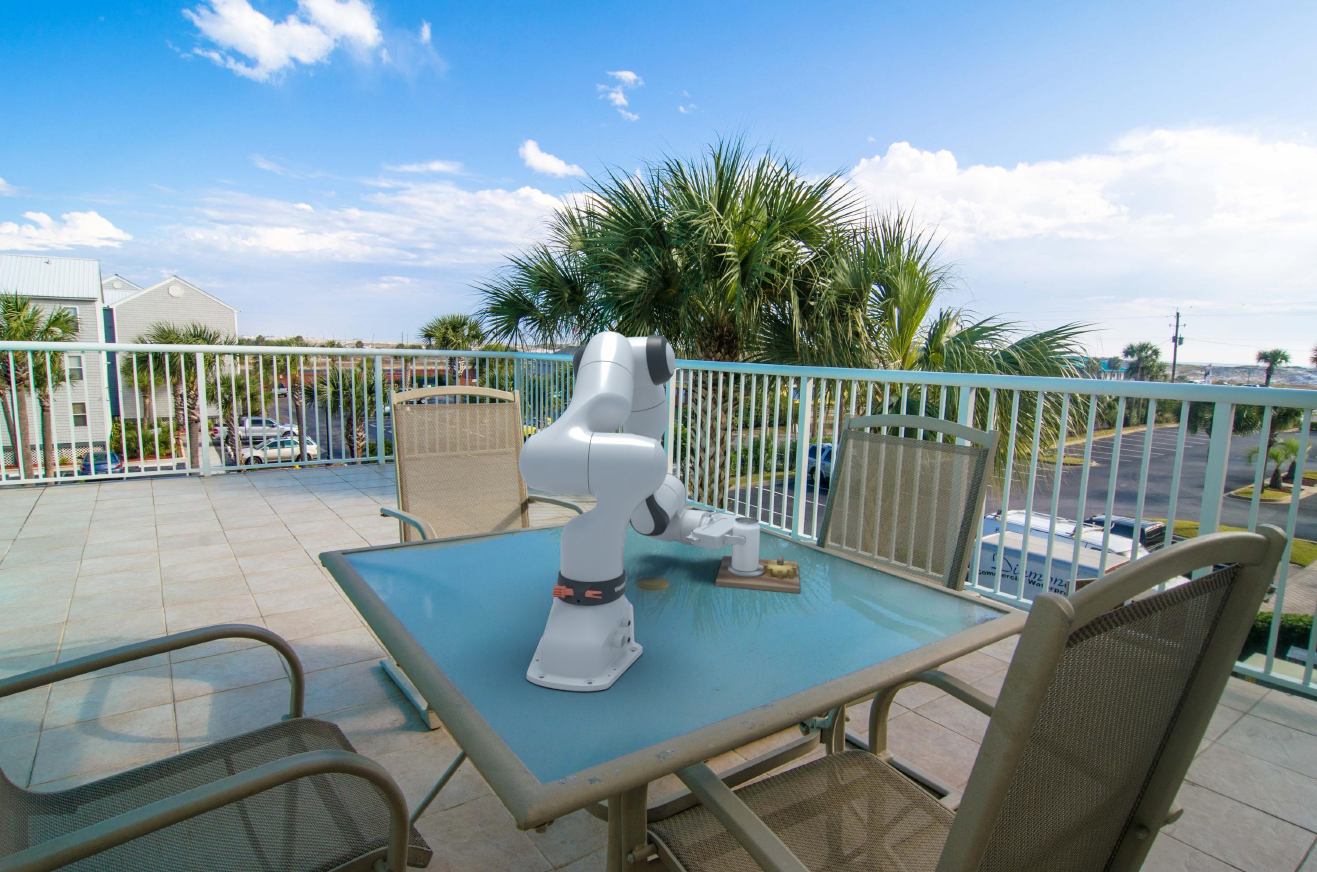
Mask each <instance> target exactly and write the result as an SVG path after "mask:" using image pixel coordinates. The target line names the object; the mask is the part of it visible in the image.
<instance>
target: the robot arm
mask: <svg viewBox="0 0 1317 872" xmlns="http://www.w3.org/2000/svg"><path fill="white" fill-rule="evenodd" d="M675 367H676V355H675V351H674V348H673V347H672V346H671V342H670V341H669V340H668V339H667V338H666V337H664V336H663V335H658V334H657V335H656V334H655V335H651V334H649V335H648V336H629V337H625V336H624V335H623V334H621V333H618V332H616V331H612V330H611V331H609V330H608V331H607V330H606V331H601V332H599V333H596V334H595V335H593V337H591V338H590V340H589V342H588V343H587V344H584V345H582V346H580V347H579V348H578V349H577V350H576V351H575V353H574V355H573V357H572V371H573V375H574V379H575V385H574V388H573V389H574V390H573V392H572V396H571V401H570V402H569V405H568V407H567V408H566V410H565V411H564V412H563V413H562V414H561V416H560V417H559V418H558V419H556V421H553V423H552V424H550V425H549V426H547V427H546V428H544V429H543V430H540V431H539V432H536V433H534V434H532V435H531V436H530V437H528V438H527V440H526V441H525V442H524V444H523V445H522V447H521V449H520V452H519V456H518V469H519V473H520V475H521V478H522V479H523V482H524V483H525V485H527V486H528V488H530V489H533V490H537V491H540V492H544V493H550V494H553V495H573V496H574V495H575V496H579V495H580V496H591V497H595V498H596V502H595V503H596V504H595V507H593V508H591V509H589V510H587V511H585V512H583V513H581V514H579V515H577V516H575V517H573V518H572V519H570V520H568V522H567V523H565V525H564V526H563V527H562V530H561V533H560V569H559V570H558V573H557V579H556V584H555V585H554V586H553V590H552V597H553V601H552V602H553V603H552V605H551V608H550V611H549V615H548V619H547V621H546V624H545V628H544V631H543V635H542V636H541V638H540V640H539V642H538V645H537V648H536V649H535V652H534V654H533V657H532V659H531V661H530V664H529V666H528V669H527V672H526V677H525V679H526V680H527V681H529V682H530V683H532V684H535V685H538V686H542V687H545V688H551V689H557V690H562V691H564V690H565V691H571V692H595V691H602V690H607V689H609V688H610V687H611V686H612V685H614V683H615V682H616V681H617V680H618V679H619V678H620V677H621V676H622V675H623V674H624V673H625V672H626V671H627V669H628V668H629V667H630V666H632V664H633V663H634V662H635V661H636V660H637V659H638V658H639V657H640V656H641V655H642V654H643V646H642V645H641V644H639V643H638V642H636V641H635V627H634V626H635V624H634V622H635V621H634V606H633V605H632V603H631V602H630V601H629V600H628V599H627V597H626V595H625V592H626V584H627V578H626V571H625V569H624V554H625V553H624V552H625V542H626V534H627V529H628V527H629V524H630V526H631V527H632V529H634V531H635V532H637V533H638V534H639V535H642V536H644V537H647V538H650V539H653V540H657V541H662V542H668V543H671V542H678V543H679V544H682V545H687V546H694V547H698V548H703V549H707V550H712V551H713V550H714V551H716V550H718V551H719V550H720V549H722V548H723V547H724V546H726V545H727V546H730V545H731V546H732V545H735V544H738V545H744V544H745V543H746V537H745V536H733V525H734V523H735V519H736V518H739V517H740V516H738V515H734V514H728V513H721V512H719V513H718V512H717V511H716V510H713V509H706V510H696V509H687V508H686V501H687V500H686V499H687V498H686V497H687V492H686V491H687V489H686V487H685V485H684V483H683V480H681V479H680V478H679V477H678V476H676V475H675V474H673V473H669V472H668V469H669V468H668V467H669V462H668V456H667V454H666V451H665V449H664V447H663V446H662V444H661V443H660V441H661V439H662V437H663V435H664V433H665V432H666V430H667V427H668V424H669V406H668V401H667V396H666V391H665V388H664V384H666V383H667V382H669V380H671V379H672V377H673V376H674V372H675ZM620 428H622V430H623V431H622V432H615V431H617V430H620Z"/></svg>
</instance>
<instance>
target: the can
mask: <svg viewBox="0 0 1317 872" xmlns="http://www.w3.org/2000/svg"><path fill="white" fill-rule="evenodd" d="M760 534H761V526H760V524H759V520H758V519H757V518H755V517H749V516H743V517H742V516H739V518H736V519H735V523H734V525H733V536H745V537H746V543H745V544H744V545H738V544H735V545H731V548H732V549H731V556H732V567H733V569H734V570H737V571H740V572H753V571H756V570H757V569H758V563H759V559H760V538H761V535H760Z"/></svg>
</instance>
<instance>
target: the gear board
mask: <svg viewBox="0 0 1317 872" xmlns="http://www.w3.org/2000/svg"><path fill="white" fill-rule="evenodd" d="M784 559H785V556H784V555H781V554H778V555H776V559H768V558H759V563H758V569H757V570H756V571H753V572H740V571H737V570H734V569H733V567H732V555H723V557H722V560H721V564H720V566H719V570H718V573H717V576H716V580H715V587H721V588H722V587H723V588H734V589H735V588H736V589H745V590H747V589H748V590H756V591H757V590H758V591H766V592H767V591H768V592H779V593H780V592H781V593H788V594H791V593H792V594H800V592H801V591H800V590H801V588H800V587H801V586H800V573H799V561H793V560H784Z"/></svg>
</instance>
